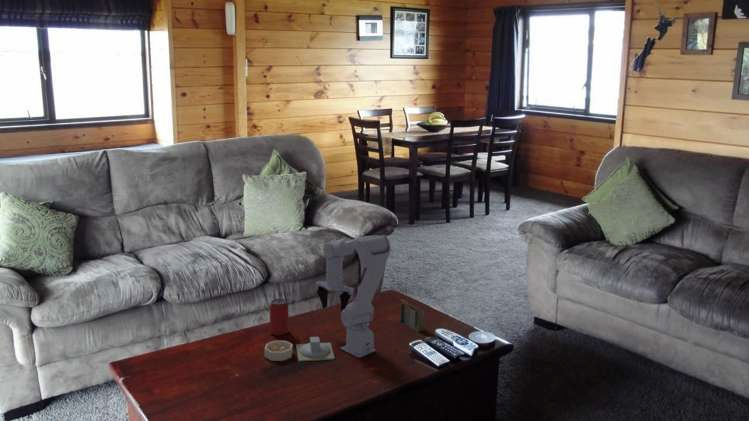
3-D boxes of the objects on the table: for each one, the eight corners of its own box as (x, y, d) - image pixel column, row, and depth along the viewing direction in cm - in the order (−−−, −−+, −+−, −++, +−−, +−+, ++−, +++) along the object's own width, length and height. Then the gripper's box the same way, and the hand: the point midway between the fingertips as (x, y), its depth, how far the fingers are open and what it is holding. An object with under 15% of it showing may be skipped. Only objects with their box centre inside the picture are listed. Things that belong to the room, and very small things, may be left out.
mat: (330, 343, 238) (330, 342, 237) (334, 359, 226) (334, 358, 226) (296, 345, 235) (296, 344, 235) (298, 361, 224) (298, 360, 224)
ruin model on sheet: (399, 322, 258) (399, 298, 255) (405, 321, 259) (406, 297, 257) (417, 333, 249) (418, 308, 246) (423, 331, 250) (424, 307, 248)
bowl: (297, 354, 229) (297, 346, 228) (276, 363, 222) (276, 355, 222) (281, 346, 235) (281, 338, 234) (259, 354, 228) (259, 346, 228)
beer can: (290, 329, 249) (290, 298, 246) (286, 336, 242) (285, 305, 239) (272, 328, 249) (272, 297, 246) (268, 335, 243) (267, 304, 240)
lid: (327, 343, 236) (327, 332, 235) (331, 356, 227) (331, 345, 226) (299, 345, 235) (299, 334, 233) (301, 358, 225) (301, 346, 224)
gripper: (311, 273, 240) (311, 309, 243) (347, 280, 234) (346, 317, 237) (321, 267, 246) (320, 302, 249) (356, 274, 240) (355, 310, 243)
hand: (334, 309), depth 244 cm, fingers open, 7 cm apart
